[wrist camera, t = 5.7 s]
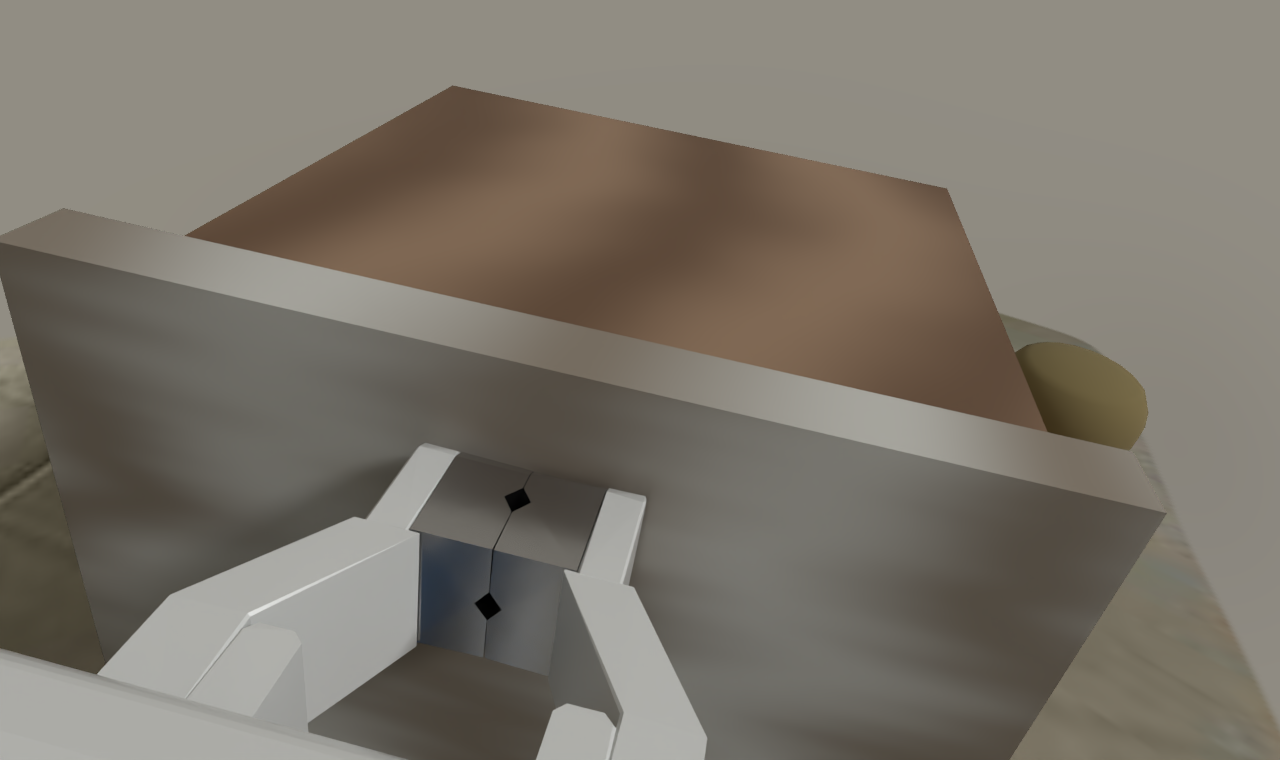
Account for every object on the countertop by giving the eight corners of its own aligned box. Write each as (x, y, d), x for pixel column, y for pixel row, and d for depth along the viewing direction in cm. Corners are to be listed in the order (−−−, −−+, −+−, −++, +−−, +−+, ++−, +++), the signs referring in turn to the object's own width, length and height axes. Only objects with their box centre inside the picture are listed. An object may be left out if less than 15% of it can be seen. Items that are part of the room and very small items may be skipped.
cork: (1012, 537, 39) (1120, 330, 33) (1075, 642, 34) (1216, 419, 28) (887, 527, 38) (975, 313, 32) (932, 632, 33) (1046, 401, 27)
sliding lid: (111, 686, 15) (-10, 239, 11) (444, 307, 28) (454, 39, 24) (916, 905, 14) (1166, 512, 9) (869, 404, 27) (963, 142, 23)
